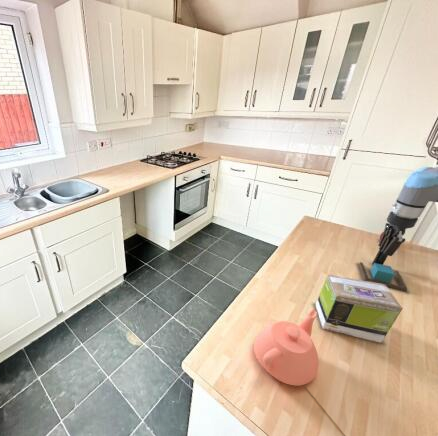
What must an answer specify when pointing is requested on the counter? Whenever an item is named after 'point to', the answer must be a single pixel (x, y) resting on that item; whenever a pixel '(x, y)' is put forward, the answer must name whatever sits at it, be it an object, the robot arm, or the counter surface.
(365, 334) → the tea box
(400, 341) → the counter surface
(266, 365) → the teapot
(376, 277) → the teal block
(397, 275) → the frame
